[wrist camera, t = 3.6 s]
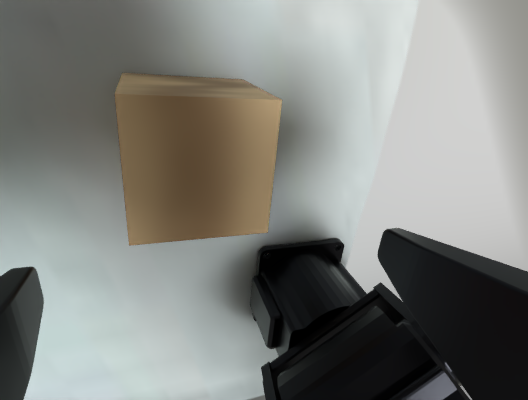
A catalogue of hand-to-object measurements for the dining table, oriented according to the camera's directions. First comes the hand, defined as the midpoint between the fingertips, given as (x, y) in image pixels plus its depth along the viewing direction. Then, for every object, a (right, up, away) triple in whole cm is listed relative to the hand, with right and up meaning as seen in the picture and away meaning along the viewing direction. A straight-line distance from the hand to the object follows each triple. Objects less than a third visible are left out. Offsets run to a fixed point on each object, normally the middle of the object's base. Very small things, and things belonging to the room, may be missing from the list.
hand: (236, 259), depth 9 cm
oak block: (-4, +5, +10) cm, 12 cm away
